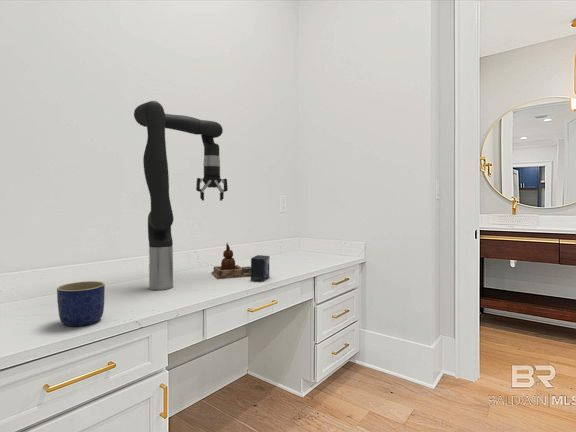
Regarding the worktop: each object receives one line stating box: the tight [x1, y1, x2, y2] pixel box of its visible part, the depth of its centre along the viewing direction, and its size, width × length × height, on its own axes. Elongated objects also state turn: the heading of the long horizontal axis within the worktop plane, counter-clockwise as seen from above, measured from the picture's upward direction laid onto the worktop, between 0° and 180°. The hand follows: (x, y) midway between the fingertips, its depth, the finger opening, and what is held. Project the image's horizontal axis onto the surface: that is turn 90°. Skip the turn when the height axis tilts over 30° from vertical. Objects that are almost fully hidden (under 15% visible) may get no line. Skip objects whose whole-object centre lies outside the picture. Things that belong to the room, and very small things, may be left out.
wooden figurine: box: [220, 243, 236, 270], centre depth 181 cm, size 7×6×15 cm
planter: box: [56, 280, 106, 327], centre depth 111 cm, size 12×12×11 cm
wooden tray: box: [211, 264, 251, 280], centre depth 182 cm, size 20×14×4 cm
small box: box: [250, 254, 270, 283], centre depth 172 cm, size 11×6×10 cm, turn 168°
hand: (212, 200), depth 176 cm, fingers open, 8 cm apart
